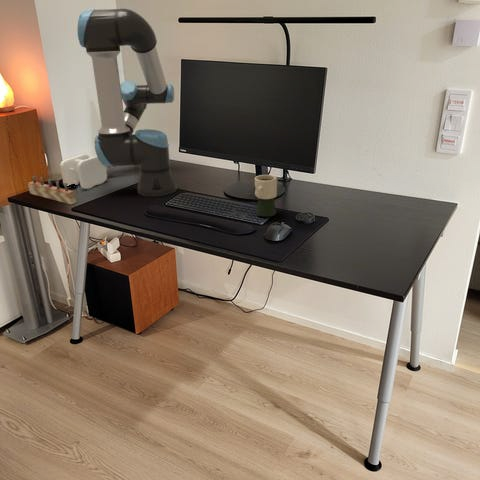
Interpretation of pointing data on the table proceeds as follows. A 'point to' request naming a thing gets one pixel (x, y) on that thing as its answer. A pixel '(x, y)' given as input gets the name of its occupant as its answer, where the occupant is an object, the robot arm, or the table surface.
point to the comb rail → (52, 191)
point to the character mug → (266, 194)
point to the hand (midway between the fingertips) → (101, 172)
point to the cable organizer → (83, 171)
